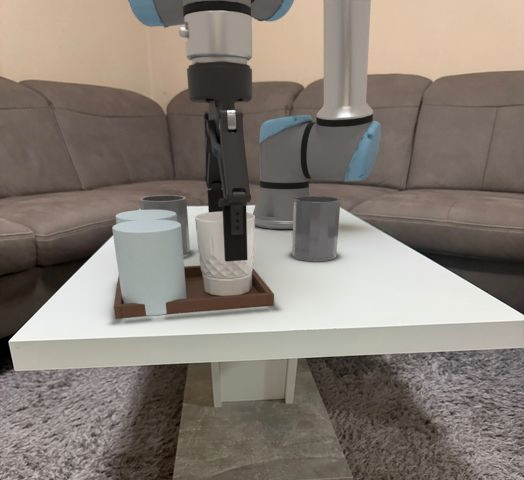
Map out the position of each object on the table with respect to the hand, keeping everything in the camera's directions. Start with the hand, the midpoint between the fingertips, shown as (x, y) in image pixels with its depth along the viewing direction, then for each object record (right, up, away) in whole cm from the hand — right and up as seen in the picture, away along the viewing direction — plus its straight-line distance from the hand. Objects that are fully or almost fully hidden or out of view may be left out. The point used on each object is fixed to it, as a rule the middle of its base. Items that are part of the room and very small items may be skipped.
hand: (226, 247), depth 62 cm
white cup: (0, -6, +2) cm, 6 cm away
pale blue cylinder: (-9, -8, -3) cm, 13 cm away
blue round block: (-11, -5, +4) cm, 12 cm away
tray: (-5, -6, +2) cm, 8 cm away
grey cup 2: (+14, +3, +21) cm, 26 cm away
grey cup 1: (-13, +4, +22) cm, 26 cm away
